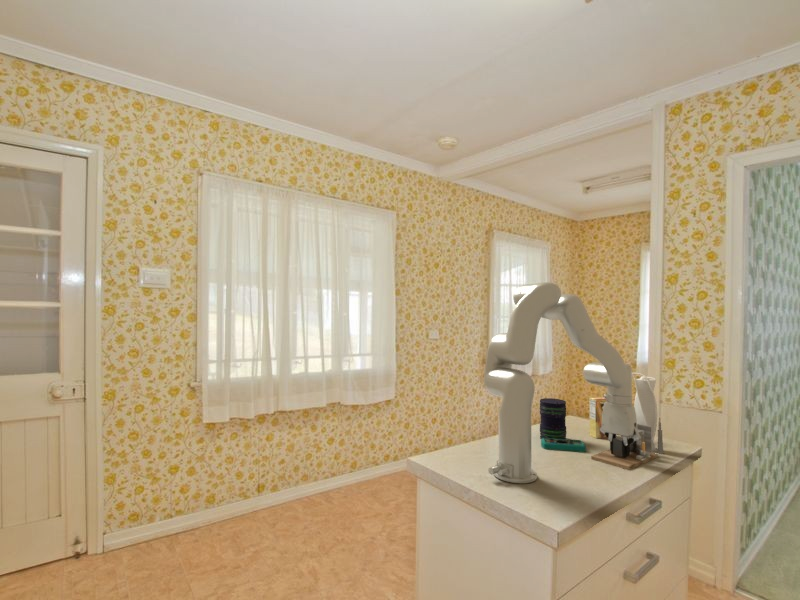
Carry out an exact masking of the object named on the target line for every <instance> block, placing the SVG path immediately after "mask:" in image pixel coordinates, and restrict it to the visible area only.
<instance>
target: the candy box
mask: <svg viewBox="0 0 800 600" xmlns="http://www.w3.org/2000/svg"><path fill="white" fill-rule="evenodd" d="M604 402H607V401H606V398H604V397H603V396H602V397H599V396H598V397H589V436H590V437H593V438H595V439H601V438H607V437H606V435H605V434H604V433H602V432H601V431H600V428H601V426H602V412H603V406H604Z"/></svg>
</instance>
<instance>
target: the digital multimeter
mask: <svg viewBox="0 0 800 600" xmlns="http://www.w3.org/2000/svg"><path fill="white" fill-rule="evenodd" d="M540 445H541V446H540V447H541V448H542V449H544V450H553V451H556V450H557V451H568V452H576V453H577V452H579V453H580V452H581V453H585V452H586V450H587V449H586V445H585V443H584V442H583V441H582V440H581V439H579V440H578V439H567V438H566V439H553V438H542V439H540Z"/></svg>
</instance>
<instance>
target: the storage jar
mask: <svg viewBox="0 0 800 600" xmlns="http://www.w3.org/2000/svg"><path fill="white" fill-rule="evenodd" d="M539 415H540V423H539V434H540V436H539V439H540V440H541V439H542V438H553V439H567V426H566V417H567V401H566V400H564V399H559V398H553V397H552V398H551V397H550V398H548V397H546V398H540V399H539Z"/></svg>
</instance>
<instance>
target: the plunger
mask: <svg viewBox="0 0 800 600" xmlns="http://www.w3.org/2000/svg"><path fill="white" fill-rule="evenodd" d="M631 438H632V437H631ZM622 445H624V441H623V438H621V437H619V436H616V438H613V455H615V456H619V457H622ZM630 451H631V452H635V453H639V454H640V453H641V450H640V449H637V445H636V441H634V442H633V443H631V444H630Z"/></svg>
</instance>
